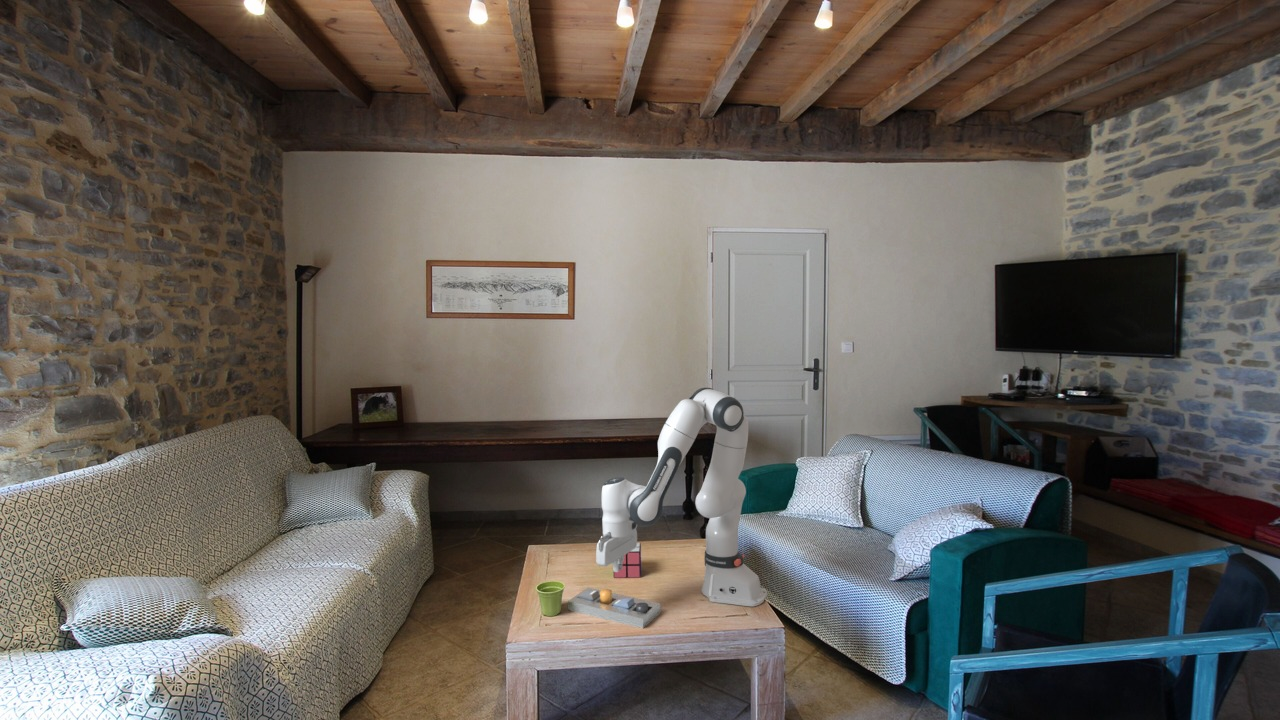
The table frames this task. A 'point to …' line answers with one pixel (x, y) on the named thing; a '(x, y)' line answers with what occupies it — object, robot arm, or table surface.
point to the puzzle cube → (631, 564)
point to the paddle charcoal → (589, 595)
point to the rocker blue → (624, 603)
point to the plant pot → (550, 597)
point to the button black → (642, 607)
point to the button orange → (606, 596)
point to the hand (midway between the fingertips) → (617, 570)
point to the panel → (615, 609)
